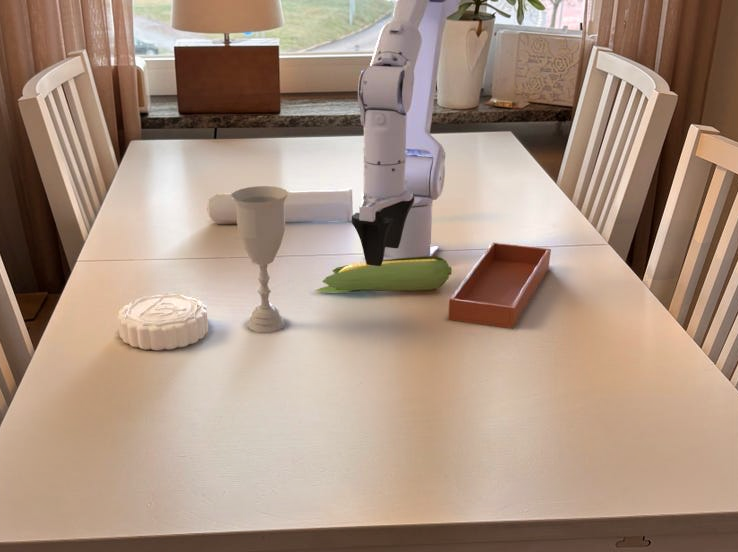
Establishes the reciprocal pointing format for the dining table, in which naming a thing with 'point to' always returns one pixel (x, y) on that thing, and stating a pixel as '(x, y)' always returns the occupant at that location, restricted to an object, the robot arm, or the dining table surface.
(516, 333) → the dining table surface
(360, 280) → the edible corn
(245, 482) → the dining table surface
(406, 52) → the robot arm
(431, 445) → the dining table surface
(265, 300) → the chalice
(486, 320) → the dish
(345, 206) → the tube
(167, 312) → the mooncake
